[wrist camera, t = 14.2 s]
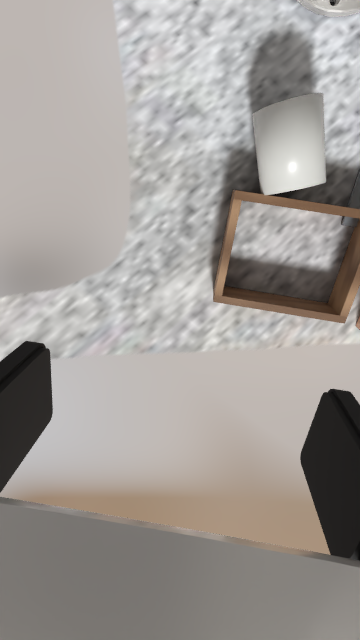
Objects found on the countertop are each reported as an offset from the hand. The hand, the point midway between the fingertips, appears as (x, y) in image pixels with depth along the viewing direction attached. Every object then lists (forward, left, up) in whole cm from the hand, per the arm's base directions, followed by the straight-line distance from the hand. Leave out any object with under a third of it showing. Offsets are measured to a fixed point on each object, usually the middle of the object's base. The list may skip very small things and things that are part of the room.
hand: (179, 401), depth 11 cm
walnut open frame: (-1, +9, -29) cm, 30 cm away
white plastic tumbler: (-11, +6, -29) cm, 31 cm away
